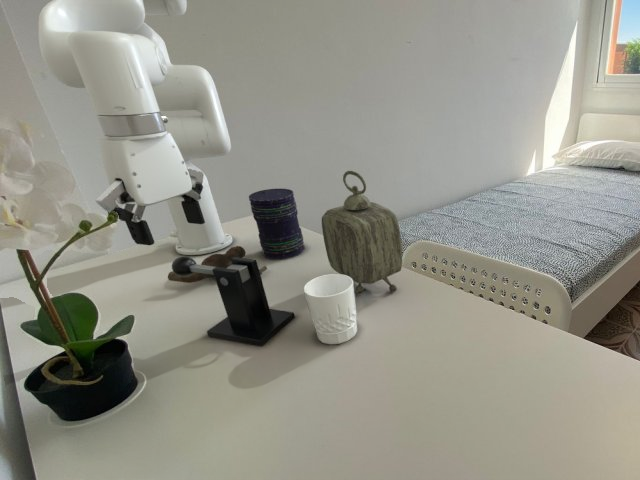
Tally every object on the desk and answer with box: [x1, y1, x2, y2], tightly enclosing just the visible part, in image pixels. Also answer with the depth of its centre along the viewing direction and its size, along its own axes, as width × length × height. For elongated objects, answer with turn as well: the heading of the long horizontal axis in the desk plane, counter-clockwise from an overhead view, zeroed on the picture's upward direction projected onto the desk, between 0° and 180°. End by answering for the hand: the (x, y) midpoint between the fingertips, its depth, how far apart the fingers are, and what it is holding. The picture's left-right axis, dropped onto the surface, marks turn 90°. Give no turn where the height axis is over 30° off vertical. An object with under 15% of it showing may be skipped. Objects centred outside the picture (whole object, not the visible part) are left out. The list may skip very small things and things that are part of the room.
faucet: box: [167, 245, 268, 284], centre depth 92 cm, size 5×17×15 cm
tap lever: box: [171, 255, 250, 282], centre depth 71 cm, size 14×4×4 cm, turn 76°
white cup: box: [303, 273, 358, 345], centre depth 71 cm, size 8×8×10 cm
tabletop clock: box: [321, 170, 403, 293], centre depth 82 cm, size 14×9×25 cm, turn 50°
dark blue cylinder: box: [248, 188, 306, 261], centre depth 101 cm, size 10×10×15 cm
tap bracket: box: [206, 257, 296, 347], centre depth 72 cm, size 11×9×13 cm
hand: (172, 232), depth 69 cm, fingers open, 9 cm apart
